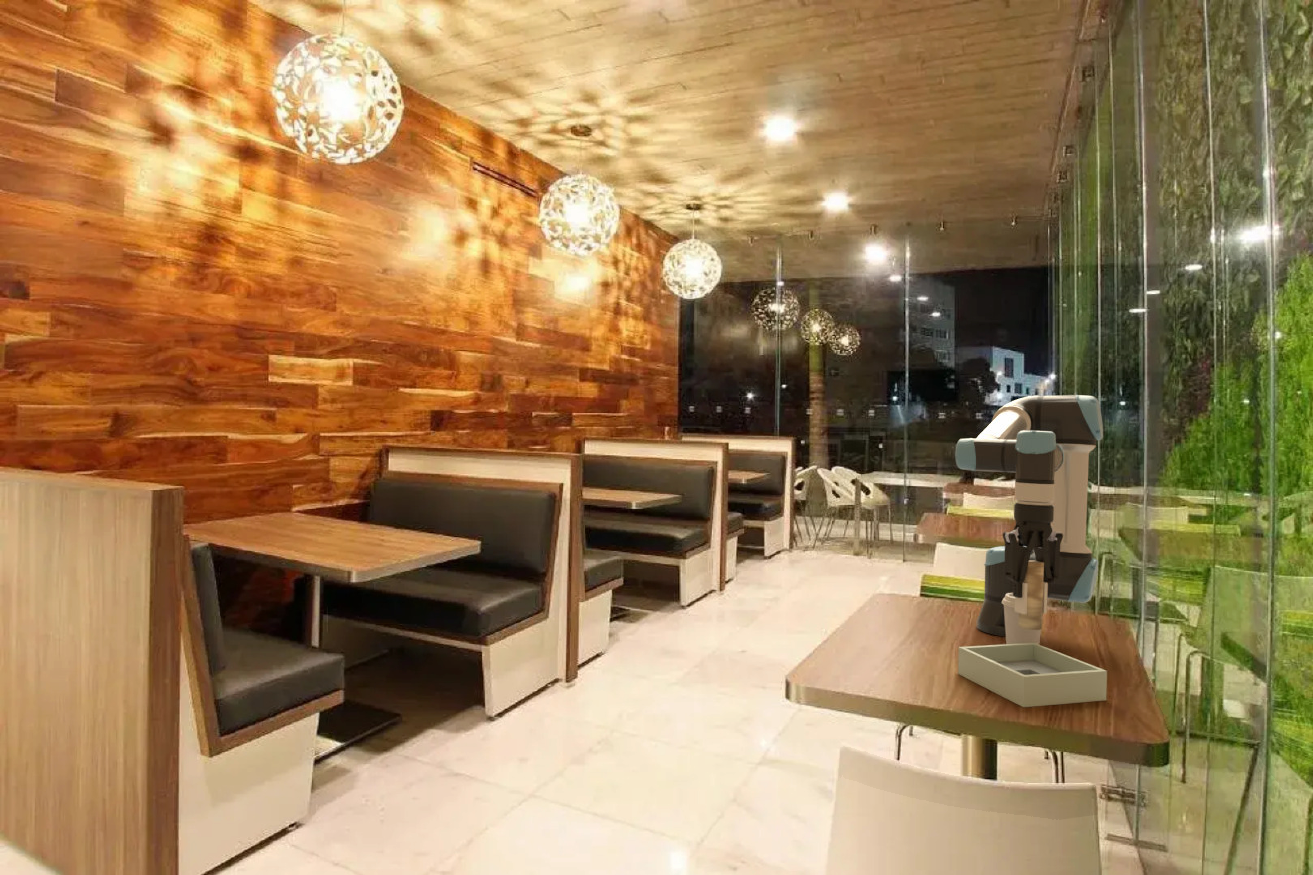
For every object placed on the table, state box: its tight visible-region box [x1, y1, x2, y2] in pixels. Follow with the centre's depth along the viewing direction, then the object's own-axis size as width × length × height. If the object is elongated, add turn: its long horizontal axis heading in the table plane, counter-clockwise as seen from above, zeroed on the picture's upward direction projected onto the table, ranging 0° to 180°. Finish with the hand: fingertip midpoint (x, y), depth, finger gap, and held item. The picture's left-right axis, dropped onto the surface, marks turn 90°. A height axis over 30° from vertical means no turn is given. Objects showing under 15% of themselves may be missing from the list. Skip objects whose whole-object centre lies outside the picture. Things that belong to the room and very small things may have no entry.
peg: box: [1019, 560, 1044, 631], centre depth 156 cm, size 4×4×14 cm
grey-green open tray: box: [957, 643, 1108, 708], centre depth 157 cm, size 20×20×6 cm
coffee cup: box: [1002, 593, 1044, 645], centre depth 176 cm, size 10×10×15 cm
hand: (1030, 612), depth 156 cm, fingers closed on peg, 4 cm apart
